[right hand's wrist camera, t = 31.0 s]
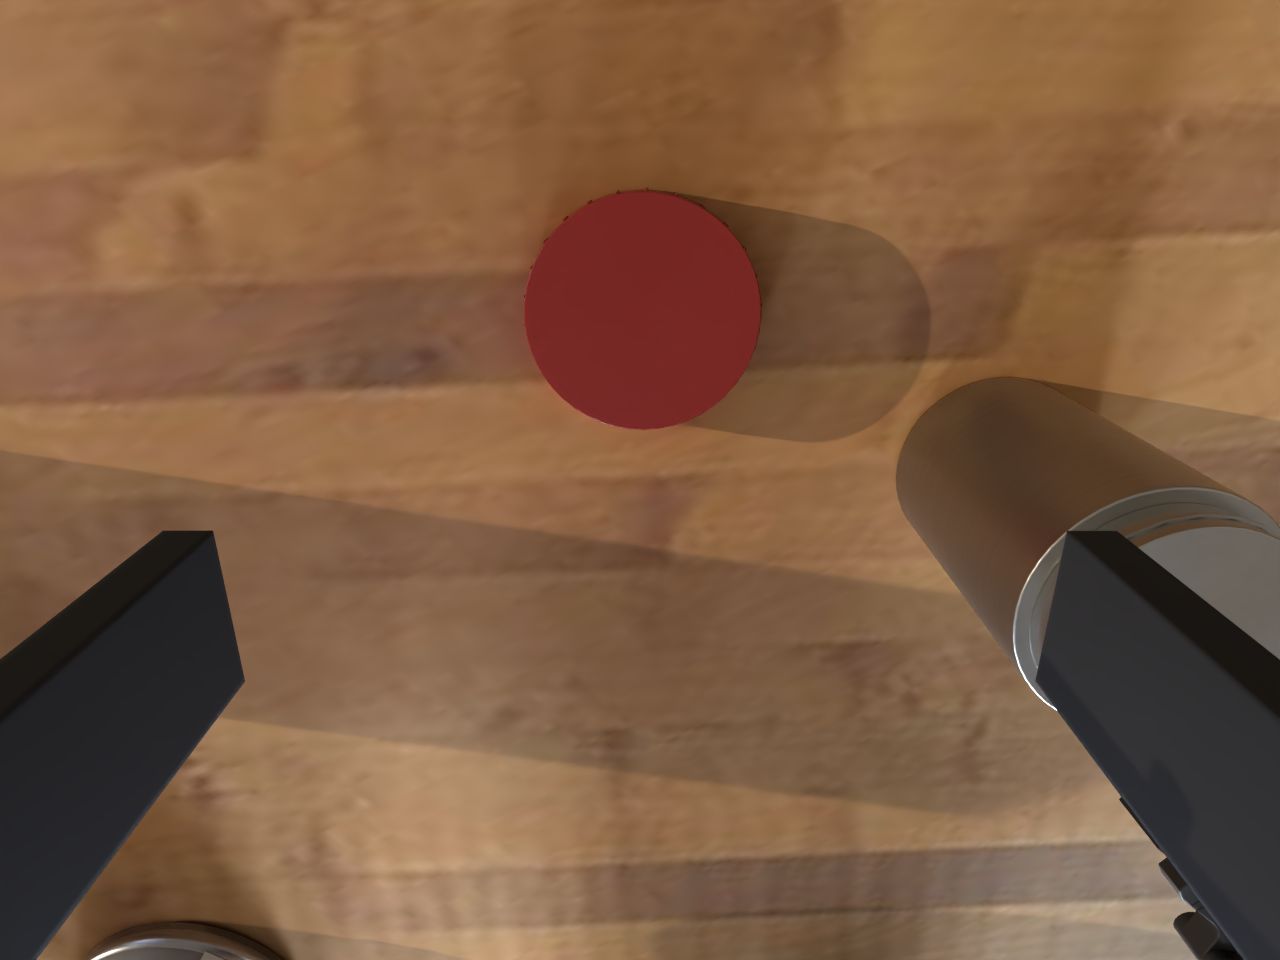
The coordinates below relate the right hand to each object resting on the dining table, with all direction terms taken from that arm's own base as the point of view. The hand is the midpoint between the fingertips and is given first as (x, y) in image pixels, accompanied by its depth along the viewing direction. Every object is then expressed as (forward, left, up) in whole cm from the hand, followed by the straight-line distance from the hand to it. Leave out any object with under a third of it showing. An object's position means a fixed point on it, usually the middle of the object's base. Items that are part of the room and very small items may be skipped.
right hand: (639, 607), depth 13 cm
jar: (-3, -18, -26) cm, 32 cm away
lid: (0, 0, -24) cm, 24 cm away
